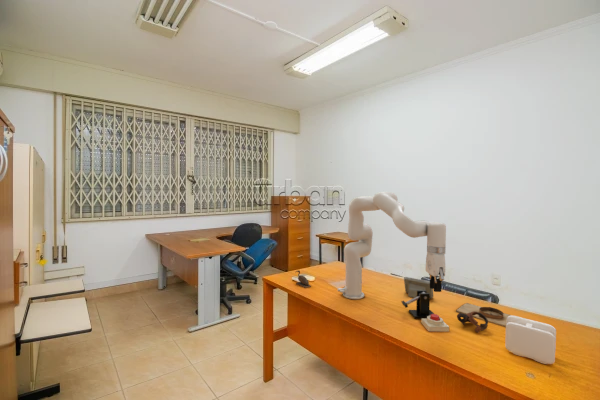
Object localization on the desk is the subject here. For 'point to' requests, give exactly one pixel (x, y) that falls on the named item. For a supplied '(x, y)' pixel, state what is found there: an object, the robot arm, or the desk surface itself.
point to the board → (485, 313)
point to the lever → (410, 301)
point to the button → (435, 317)
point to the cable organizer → (531, 339)
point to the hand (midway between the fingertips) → (435, 289)
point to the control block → (434, 324)
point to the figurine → (302, 281)
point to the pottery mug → (473, 320)
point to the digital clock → (417, 286)
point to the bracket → (422, 306)
